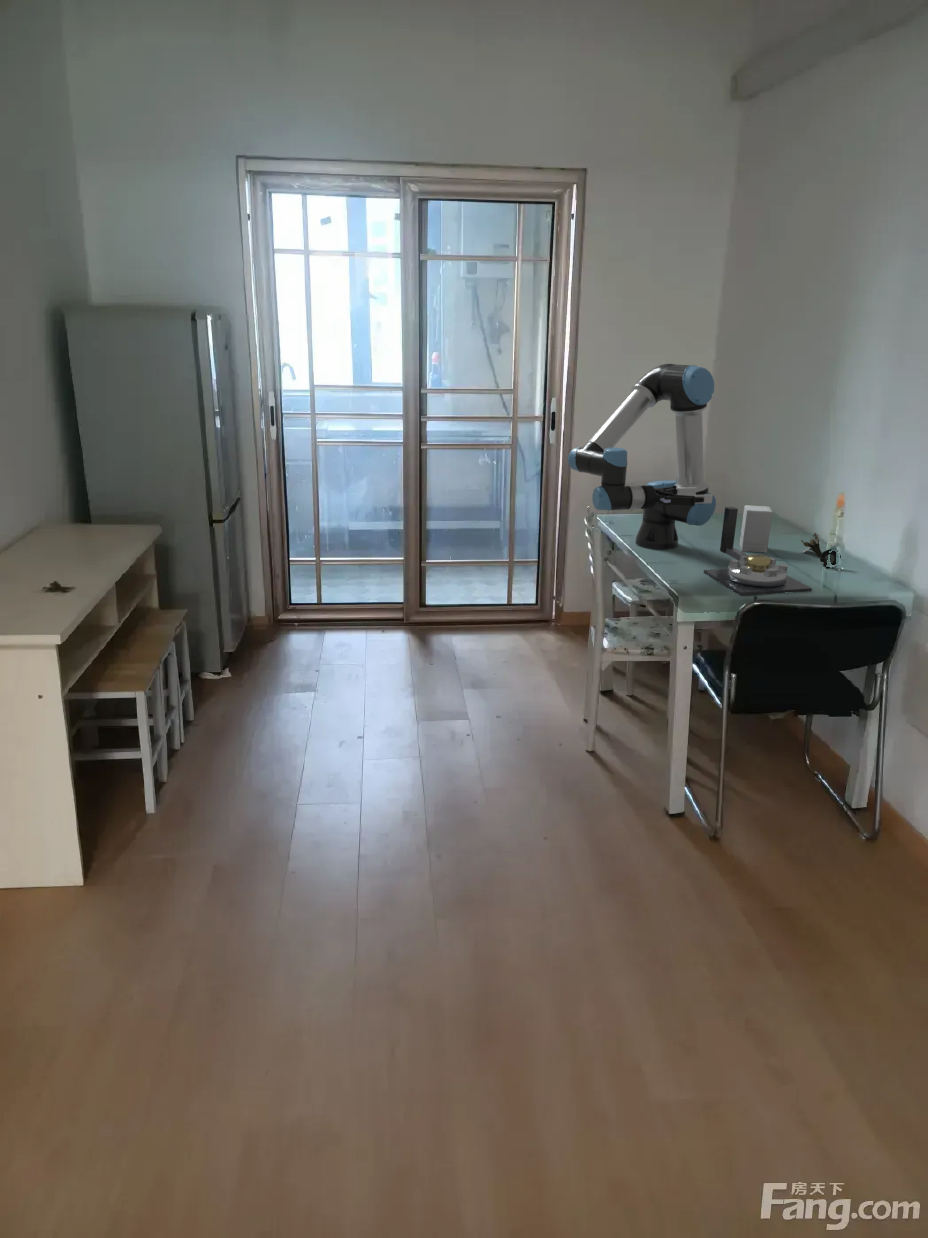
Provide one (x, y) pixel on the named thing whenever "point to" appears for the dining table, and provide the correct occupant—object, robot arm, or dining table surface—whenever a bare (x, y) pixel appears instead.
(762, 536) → the supplement box
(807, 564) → the dining table surface
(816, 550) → the artificial flower
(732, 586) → the flange plate
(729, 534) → the round grey fixture
